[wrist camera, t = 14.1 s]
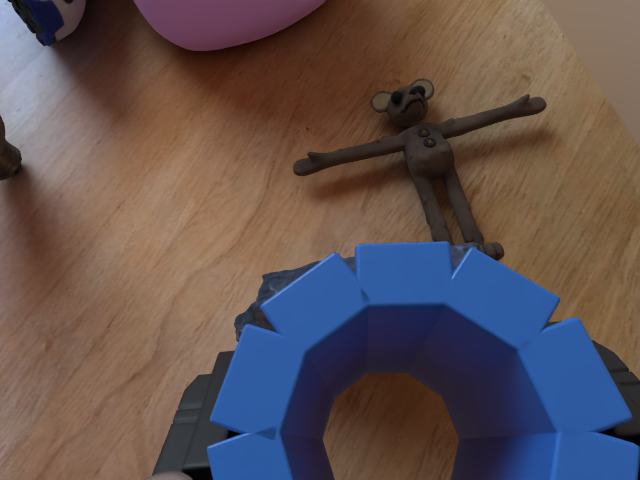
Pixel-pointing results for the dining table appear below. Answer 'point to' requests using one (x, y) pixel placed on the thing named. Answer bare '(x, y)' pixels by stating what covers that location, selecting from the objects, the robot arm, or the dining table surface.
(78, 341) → the dining table surface
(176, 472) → the robot arm
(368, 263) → the blue notched tube
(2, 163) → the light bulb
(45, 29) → the athletic shoe
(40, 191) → the dining table surface
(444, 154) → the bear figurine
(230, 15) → the teapot
